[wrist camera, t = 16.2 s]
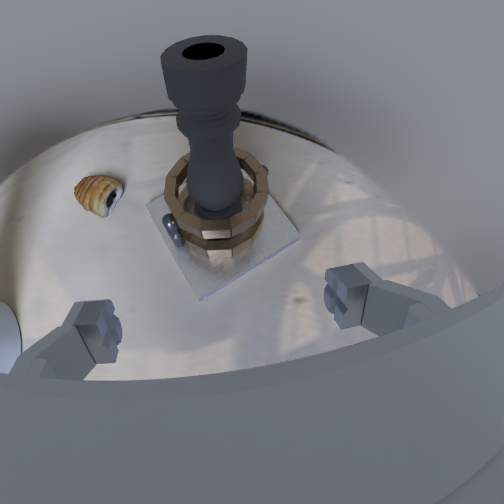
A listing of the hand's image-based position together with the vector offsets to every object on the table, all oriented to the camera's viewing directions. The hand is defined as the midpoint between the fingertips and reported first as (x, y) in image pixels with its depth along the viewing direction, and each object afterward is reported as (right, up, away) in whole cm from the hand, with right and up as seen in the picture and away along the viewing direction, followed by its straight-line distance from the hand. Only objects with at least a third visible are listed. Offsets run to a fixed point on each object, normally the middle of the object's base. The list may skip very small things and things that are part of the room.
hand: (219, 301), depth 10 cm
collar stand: (-3, +6, +29) cm, 30 cm away
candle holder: (-3, +6, +28) cm, 29 cm away
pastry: (-24, +10, +30) cm, 40 cm away
